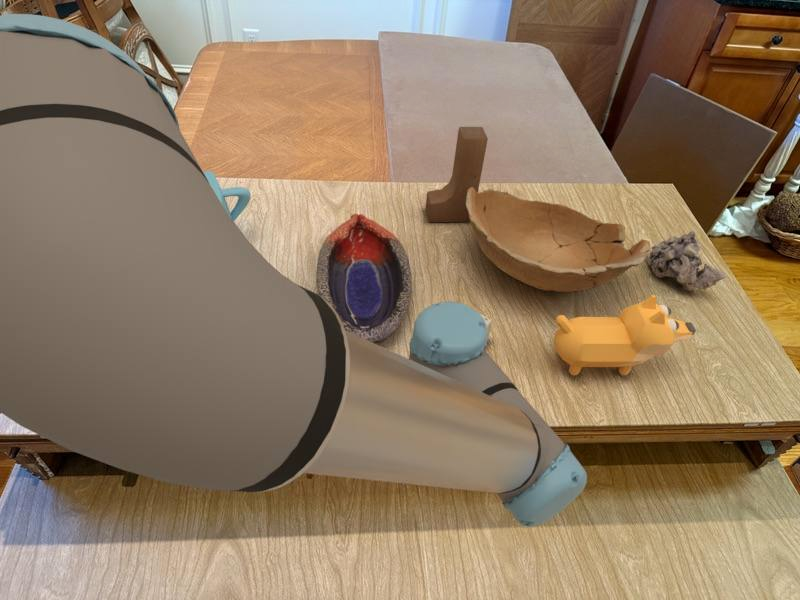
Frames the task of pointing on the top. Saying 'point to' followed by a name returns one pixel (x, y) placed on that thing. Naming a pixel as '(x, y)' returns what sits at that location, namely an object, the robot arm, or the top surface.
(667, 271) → the mineral specimen
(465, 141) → the wooden block
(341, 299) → the dish
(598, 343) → the dog
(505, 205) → the ceramic bowl
